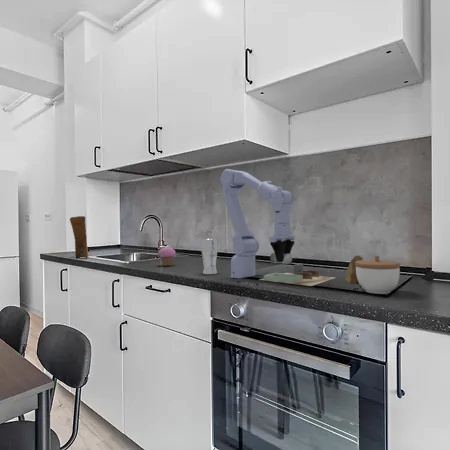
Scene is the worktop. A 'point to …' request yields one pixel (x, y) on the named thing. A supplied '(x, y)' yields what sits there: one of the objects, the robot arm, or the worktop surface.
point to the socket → (309, 274)
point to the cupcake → (167, 255)
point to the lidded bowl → (377, 275)
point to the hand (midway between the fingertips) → (282, 261)
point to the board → (308, 280)
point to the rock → (352, 271)
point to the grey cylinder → (286, 258)
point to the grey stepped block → (299, 269)
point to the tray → (283, 277)
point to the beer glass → (209, 255)
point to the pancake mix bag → (79, 236)
